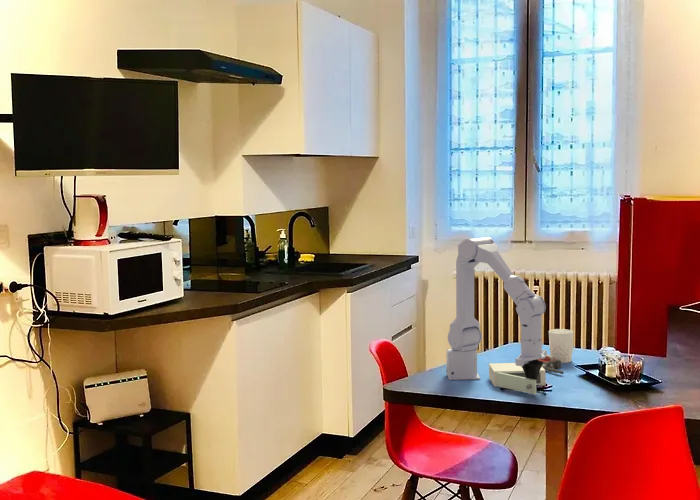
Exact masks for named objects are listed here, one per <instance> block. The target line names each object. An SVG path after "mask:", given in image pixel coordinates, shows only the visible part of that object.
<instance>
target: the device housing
mask: <svg viewBox="0 0 700 500" xmlns="http://www.w3.org/2000/svg"><path fill="white" fill-rule="evenodd" d="M498 372H500V373H505V374H510V375H515V376H520V377H525V378H526V375H525V372H524V370H523V368H522V367H521V366H516V362H501V363H499V362H497V363H488V378H489V380H490V382H491V383H492V385H493V386H494V387H498V386H497V373H498ZM546 372H547V371H545V369H544V368H543V367H541V369H540V371H539V374H538V378H537V383H536V385H539V386H546V385H547V382H546V374H547V373H546Z"/></svg>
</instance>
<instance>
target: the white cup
mask: <svg viewBox="0 0 700 500" xmlns="http://www.w3.org/2000/svg"><path fill="white" fill-rule="evenodd" d="M548 340H549V341H548V343H549V345H548V346H549V354H550V355H552V356H554V358H555V359H557V360H560V361H561V364H568V363H569V364H570V363H571V362H572V361H573V357H572V356H573V346H574V330H572V329H565V328H554V329H550V330H548Z"/></svg>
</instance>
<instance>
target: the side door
mask: <svg viewBox="0 0 700 500" xmlns="http://www.w3.org/2000/svg"><path fill="white" fill-rule="evenodd" d="M496 387H499V388H504V389H509V390H513V391H517V392H523V393H525V394H531V395H532V394H533V395H537V386H536V380H535V379H530V378H525V377H520V376H515V375H510V374H505V373H500V372H498V373H497V386H496Z"/></svg>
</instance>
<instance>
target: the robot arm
mask: <svg viewBox="0 0 700 500" xmlns="http://www.w3.org/2000/svg"><path fill="white" fill-rule="evenodd" d="M457 251H458V252H457V257H456V261H455V262H456V263H455V264H456V265H455V269H456V270H455V273H456V275H455V279H456V280H455V282H456V283H455V288H456V289H455V290H456V291H455V293H456V297H455V298H456V299H455V301H456V306H455V307H456V314H455V316H456V317H455V319H454V320H453V321H451V323H450V324H449V331H448V333H447V342H448V344H449V346H450V347H451V348H448V349H446V368H445V370H446V371H445V374H446V375H447V378H448V380H449V381H453V380H455V381H457V380H460V381H461V380H462V381H463V380H481V377H480V375H479V374H478V348H479V345H480V343H481V342H482V339H483V333H482V331H481V327H480V326H481V325H480V324H481V323H480V322H479V321H478V320H477V319H476V318H475V267H476V266H478V265H479V264H480V263H484V264H487V265H488V266H489V267H490V268H491V269H492V270H493V272H494V273H495V274H496V275H497V276H498V277H499V279H501V280H502V281H503V289H504V291H505V292H506V293H507V295H508V296H509V297H510V299H511V300H512V301H513V302H514V304H515V305H516V306H515V310H516V314H517V315H518V318H519V322H520V354H519V355H518V357H516V358H515V363H516V366H521V367H522V368H523V370H524V372H525V375H526V378H530V379H535V380H536V383H537V378H538V374H539V371H540V369H541V367H542V365H543V361H538V359H544V358H546V357H547V354H548V351H547V349H543V347H542V346H543V344H542V343H543V342H542V341H543V340H542V339H543V336H542V332H543V331H542V330H543V328H542V327H543V326H542V325H543V324H542V323H543V322H542V321H543V319H542V315H544V314H545V312H546V309H547V307H546V306H547V305H546V302H545V300H544V298H543V297H542V296H541V295H537V294H536V293H534V291H532V290H531V289H530V287H529V286H528V284H527V283H526V282H525V279H524V278H523V277H521V276H520V275H514V273H513V272H512V270H511V269H510V267H509V265H508V264H507V263H506V261H505V260H504V258H503V257H502V255H501V254H500V252H499V246H498V245H497V244H496V243H495V241H494V239H493V238H492V237H490V236H484V237H476V238H475V237H474V238H464V239H463V240H462V241H461V242H460V243H459V244H458V245H457Z"/></svg>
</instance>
